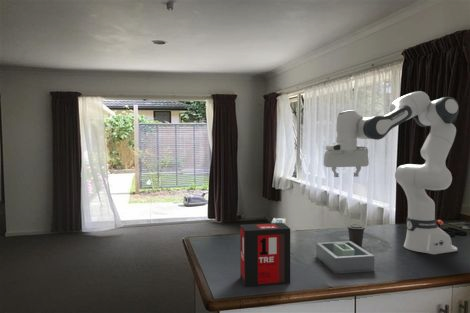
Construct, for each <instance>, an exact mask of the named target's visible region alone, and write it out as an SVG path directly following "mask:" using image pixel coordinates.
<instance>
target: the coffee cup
mask: <svg viewBox="0 0 470 313" xmlns="http://www.w3.org/2000/svg"><path fill="white" fill-rule="evenodd" d="M347 229H348V230H347V231H348V239H349V240H348V241H351V242H353V243H354V244H356V245H358V246H359V247H361V248H362V247H363V246H362V245H363V240H364V232H365V230H366V228H365V226H363V225H359V224H357V223H356V224H350V225H348V226H347Z"/></svg>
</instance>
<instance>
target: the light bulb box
mask: <svg viewBox="0 0 470 313" xmlns="http://www.w3.org/2000/svg"><path fill="white" fill-rule="evenodd" d="M270 223H284V224H285V225H286V226H287V218H280V217H279V218H278V217H273V219H272V221H271V222H270Z"/></svg>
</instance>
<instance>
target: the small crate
mask: <svg viewBox="0 0 470 313" xmlns="http://www.w3.org/2000/svg"><path fill="white" fill-rule="evenodd" d="M333 254H335V255H336V256H337V257H339V256H355V250H354V249H353V248H351V247H350V246H348V245H347V244H345V243H339V244H334V248H333Z"/></svg>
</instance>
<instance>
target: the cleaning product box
mask: <svg viewBox="0 0 470 313" xmlns="http://www.w3.org/2000/svg"><path fill="white" fill-rule="evenodd" d="M239 236H240V237H239V240H240V241H239V242H240V244H239V247H240V248H239V250H240V252H239V253H240V257H239V258H240V260H239V261H240V265H239V267H240V272H239V273H240V279H241V282H242V284H243V286H244V288H253V287H265V286H277V285H278V286H280V285H288V284H289V285H291V228H290V227H289V226H288V225H287V224H286V225H285V224H284V223H271V222H270V223H249V224H240V225H239Z"/></svg>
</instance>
